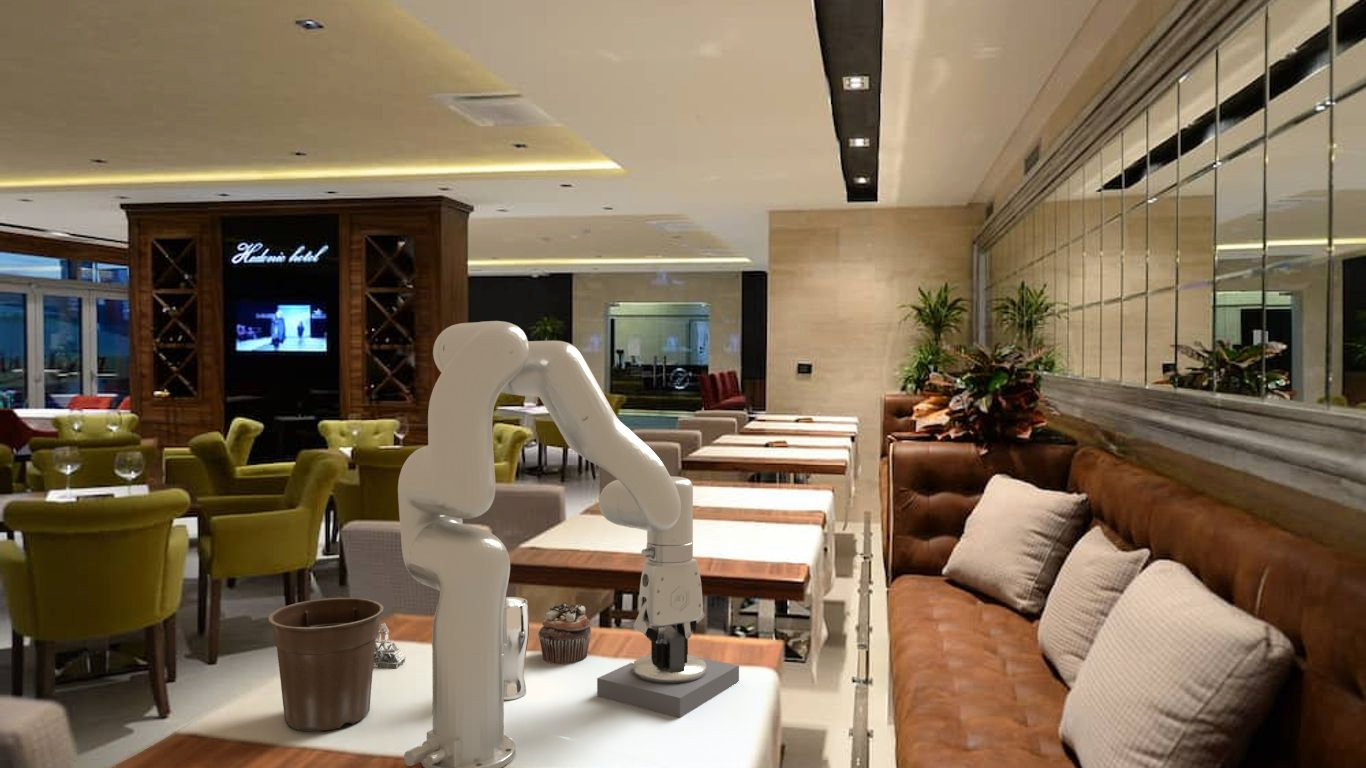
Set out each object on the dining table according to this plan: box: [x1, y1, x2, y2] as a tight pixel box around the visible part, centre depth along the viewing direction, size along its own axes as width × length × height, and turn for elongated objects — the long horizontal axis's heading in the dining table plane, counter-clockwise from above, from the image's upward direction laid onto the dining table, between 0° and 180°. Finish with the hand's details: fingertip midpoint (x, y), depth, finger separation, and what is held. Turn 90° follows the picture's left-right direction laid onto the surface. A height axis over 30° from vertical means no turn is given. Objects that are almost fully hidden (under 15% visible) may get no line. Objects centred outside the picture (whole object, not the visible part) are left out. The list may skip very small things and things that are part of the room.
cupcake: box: [537, 601, 592, 665], centre depth 167 cm, size 10×10×10 cm
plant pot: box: [268, 597, 384, 732], centre depth 140 cm, size 16×16×16 cm
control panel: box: [596, 653, 740, 718], centre depth 151 cm, size 18×16×3 cm
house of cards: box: [373, 622, 406, 669], centre depth 166 cm, size 9×9×8 cm
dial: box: [633, 625, 706, 683], centre depth 151 cm, size 12×12×6 cm
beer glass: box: [503, 596, 530, 701], centre depth 149 cm, size 7×7×15 cm
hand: (669, 662), depth 151 cm, fingers closed on dial, 3 cm apart
